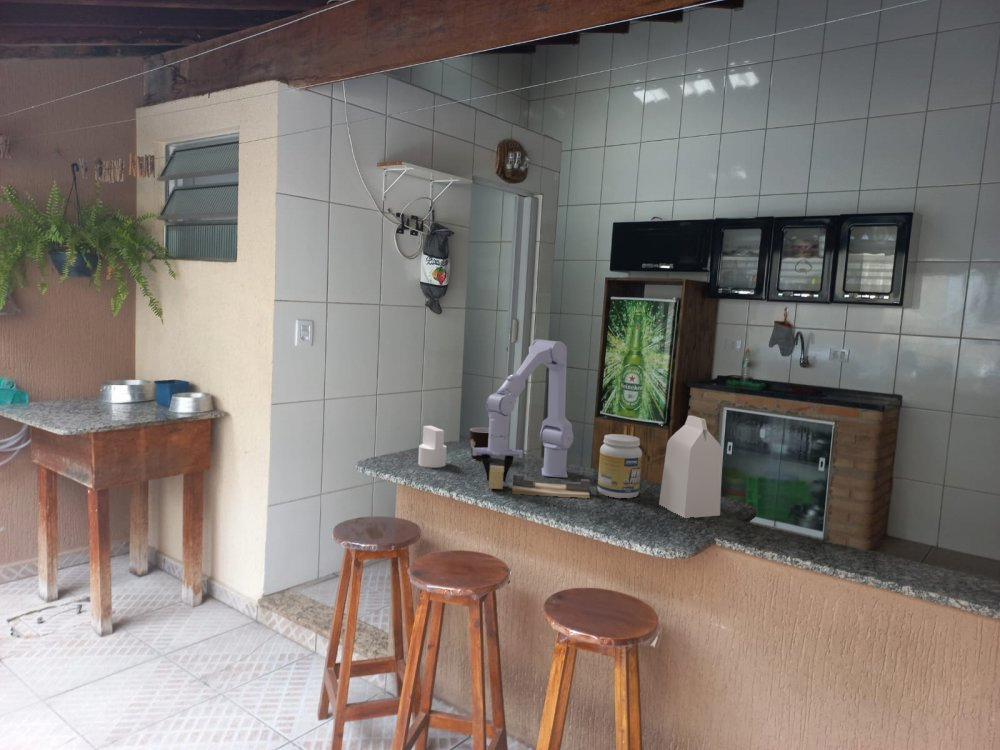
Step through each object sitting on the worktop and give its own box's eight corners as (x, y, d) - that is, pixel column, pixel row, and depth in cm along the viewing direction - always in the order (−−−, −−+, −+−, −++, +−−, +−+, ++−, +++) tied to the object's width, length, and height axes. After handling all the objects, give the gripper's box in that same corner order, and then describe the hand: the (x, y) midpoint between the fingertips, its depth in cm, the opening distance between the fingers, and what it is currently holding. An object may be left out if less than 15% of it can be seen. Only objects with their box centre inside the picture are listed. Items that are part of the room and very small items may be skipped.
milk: (658, 504, 195) (666, 413, 192) (693, 502, 199) (700, 413, 196) (684, 518, 184) (692, 422, 181) (719, 515, 188) (728, 421, 185)
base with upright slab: (450, 465, 227) (452, 429, 225) (426, 468, 222) (428, 431, 220) (437, 459, 234) (438, 424, 233) (413, 462, 229) (414, 426, 228)
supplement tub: (629, 502, 196) (633, 443, 194) (590, 494, 202) (594, 437, 200) (645, 493, 206) (649, 437, 204) (607, 485, 213) (610, 431, 211)
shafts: (512, 482, 206) (513, 473, 206) (587, 487, 206) (588, 477, 205) (512, 487, 202) (513, 476, 202) (589, 491, 201) (589, 481, 201)
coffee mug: (467, 455, 243) (469, 427, 242) (492, 455, 244) (493, 427, 243) (469, 463, 231) (471, 434, 230) (495, 464, 232) (497, 434, 231)
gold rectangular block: (488, 488, 200) (489, 471, 199) (489, 481, 207) (490, 465, 206) (502, 489, 200) (503, 472, 199) (503, 482, 207) (504, 466, 206)
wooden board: (513, 484, 208) (513, 481, 208) (586, 488, 208) (586, 485, 207) (512, 494, 198) (512, 490, 198) (589, 498, 198) (589, 495, 198)
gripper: (472, 436, 198) (470, 482, 199) (523, 439, 197) (520, 485, 199) (474, 431, 205) (472, 476, 206) (523, 434, 204) (521, 478, 206)
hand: (496, 480), depth 203 cm, fingers closed on gold rectangular block, 4 cm apart
